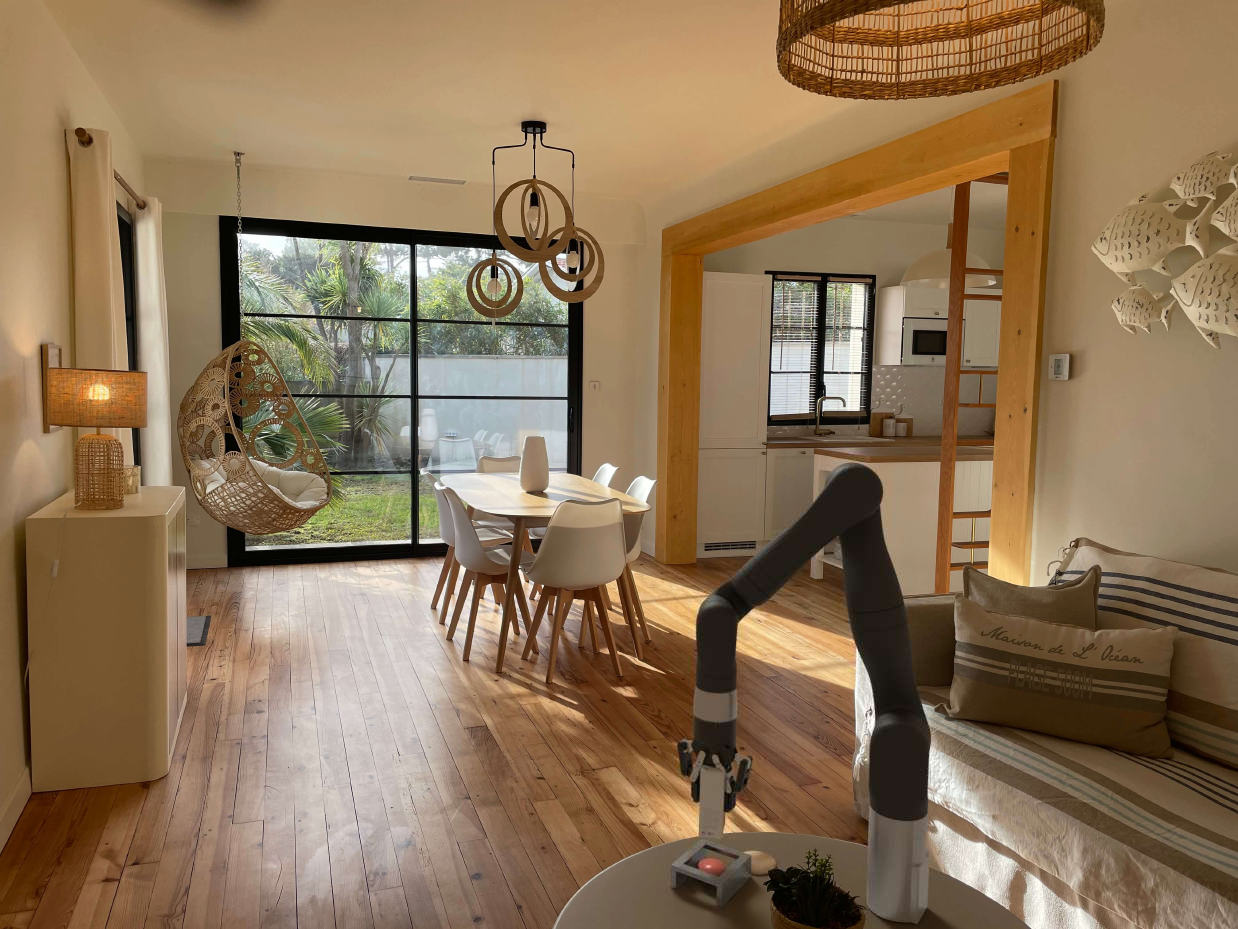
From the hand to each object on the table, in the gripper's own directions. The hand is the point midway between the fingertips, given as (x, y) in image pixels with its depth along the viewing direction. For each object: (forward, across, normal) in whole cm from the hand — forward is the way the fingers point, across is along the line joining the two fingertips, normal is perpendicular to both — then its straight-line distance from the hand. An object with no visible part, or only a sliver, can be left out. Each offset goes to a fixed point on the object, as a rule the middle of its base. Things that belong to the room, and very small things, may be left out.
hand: (712, 805), depth 153 cm
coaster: (+14, -4, -10) cm, 17 cm away
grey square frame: (+14, 0, 0) cm, 14 cm away
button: (+12, 0, 0) cm, 12 cm away
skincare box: (+5, 0, 0) cm, 5 cm away
